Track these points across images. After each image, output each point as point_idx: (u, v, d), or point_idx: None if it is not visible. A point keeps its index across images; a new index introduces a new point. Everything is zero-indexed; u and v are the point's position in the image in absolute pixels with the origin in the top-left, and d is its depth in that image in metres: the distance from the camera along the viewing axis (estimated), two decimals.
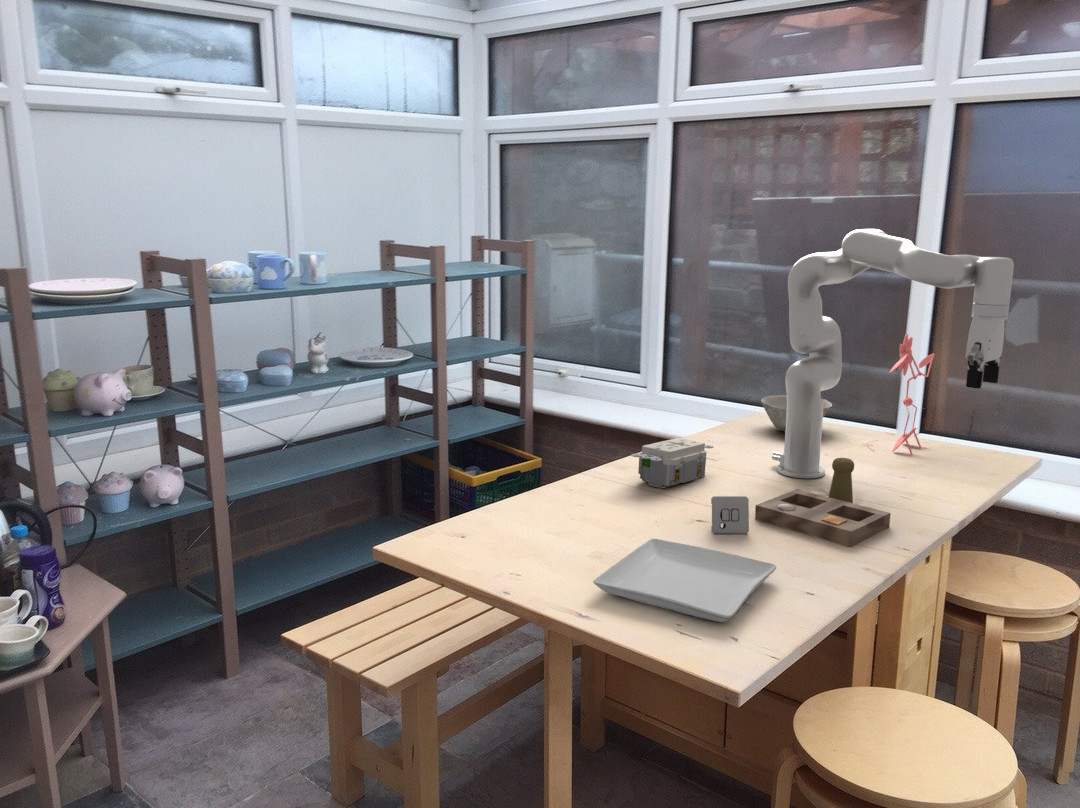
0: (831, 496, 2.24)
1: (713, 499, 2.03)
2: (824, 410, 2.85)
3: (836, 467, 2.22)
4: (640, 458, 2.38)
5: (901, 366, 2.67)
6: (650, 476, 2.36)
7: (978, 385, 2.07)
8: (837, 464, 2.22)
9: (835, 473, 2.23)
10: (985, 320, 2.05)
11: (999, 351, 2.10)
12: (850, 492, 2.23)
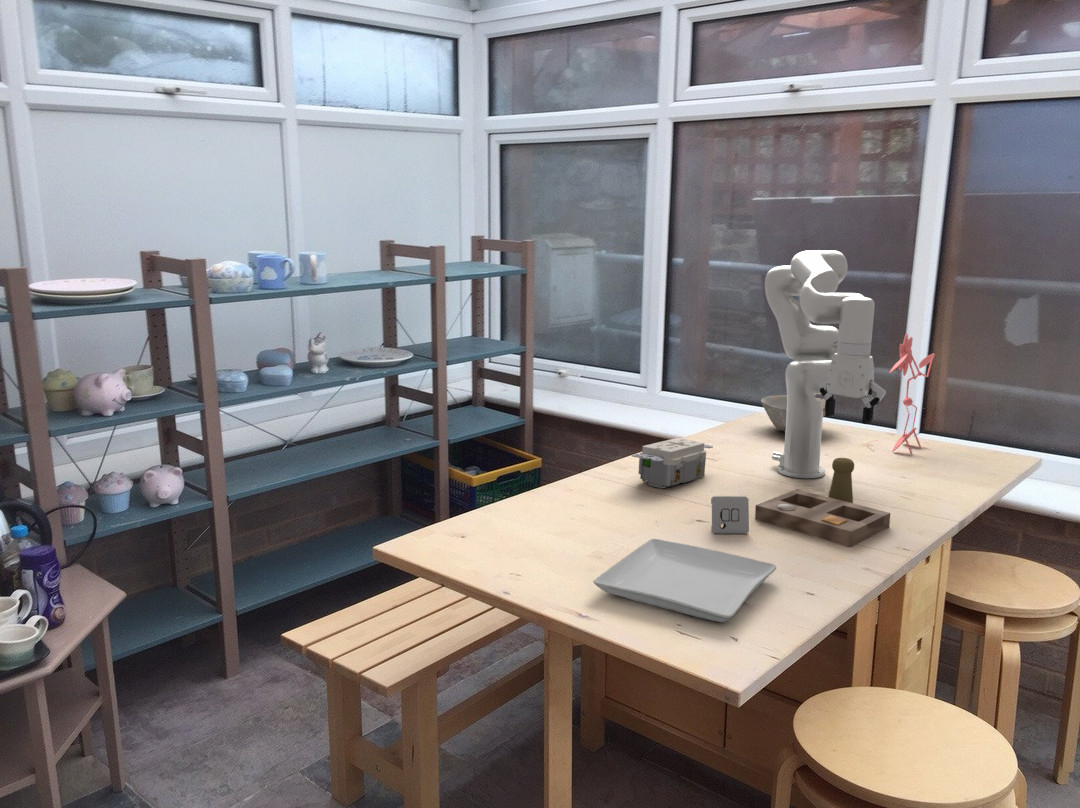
0: (831, 496, 2.24)
1: (713, 499, 2.03)
2: (824, 410, 2.85)
3: (836, 467, 2.22)
4: (640, 458, 2.38)
5: (901, 366, 2.67)
6: (650, 476, 2.36)
7: None
8: (837, 464, 2.22)
9: (835, 473, 2.23)
10: (871, 358, 2.13)
11: None
12: (850, 492, 2.23)
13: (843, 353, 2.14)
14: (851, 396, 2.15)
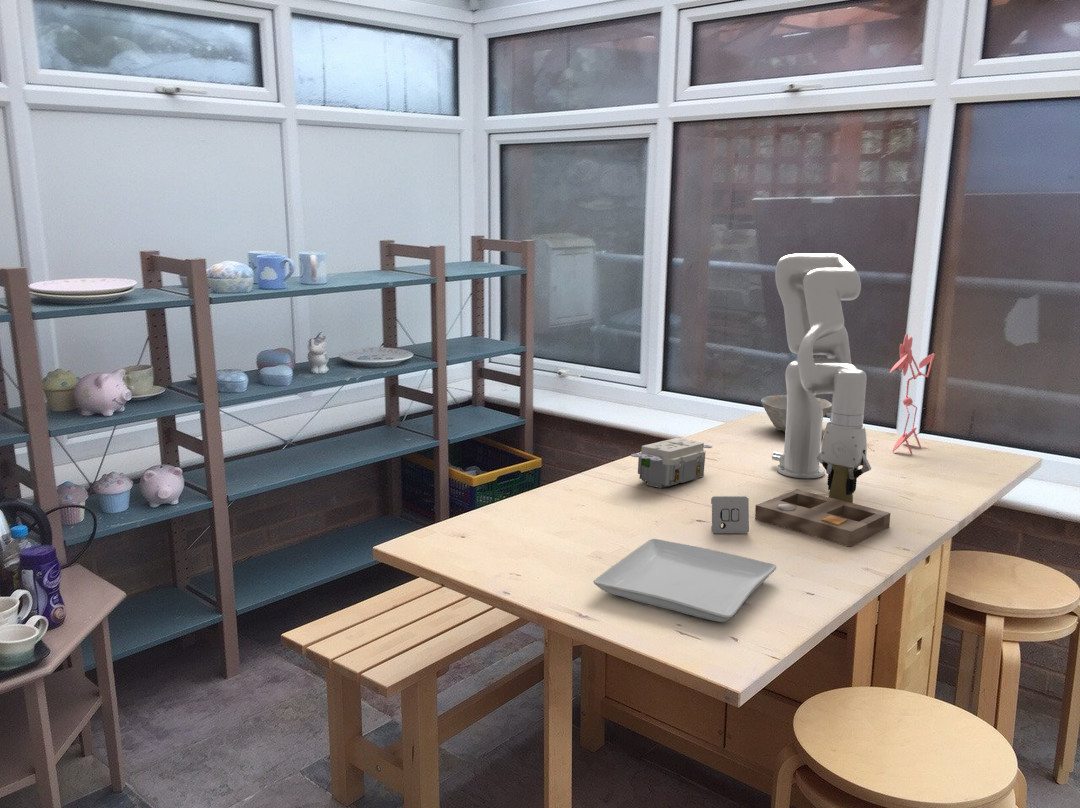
0: (831, 496, 2.24)
1: (713, 499, 2.03)
2: (824, 410, 2.85)
3: (836, 467, 2.22)
4: (639, 458, 2.38)
5: (901, 366, 2.67)
6: (650, 476, 2.36)
7: None
8: None
9: (835, 473, 2.23)
10: (864, 428, 2.19)
11: None
12: None
13: (836, 424, 2.19)
14: (844, 465, 2.20)
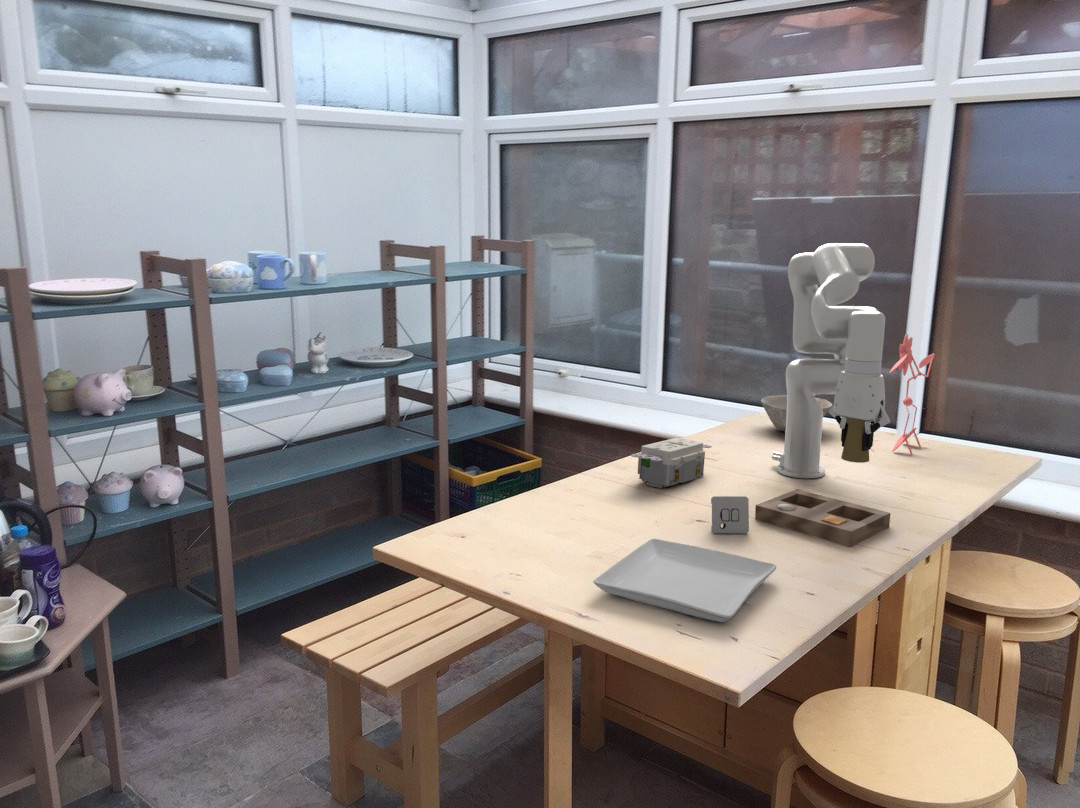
0: (845, 453, 2.02)
1: (713, 499, 2.03)
2: (824, 410, 2.85)
3: (851, 420, 2.00)
4: (639, 458, 2.38)
5: (901, 366, 2.67)
6: (650, 476, 2.36)
7: None
8: None
9: (850, 427, 2.01)
10: (882, 376, 1.97)
11: None
12: None
13: (851, 371, 1.97)
14: (860, 418, 1.98)
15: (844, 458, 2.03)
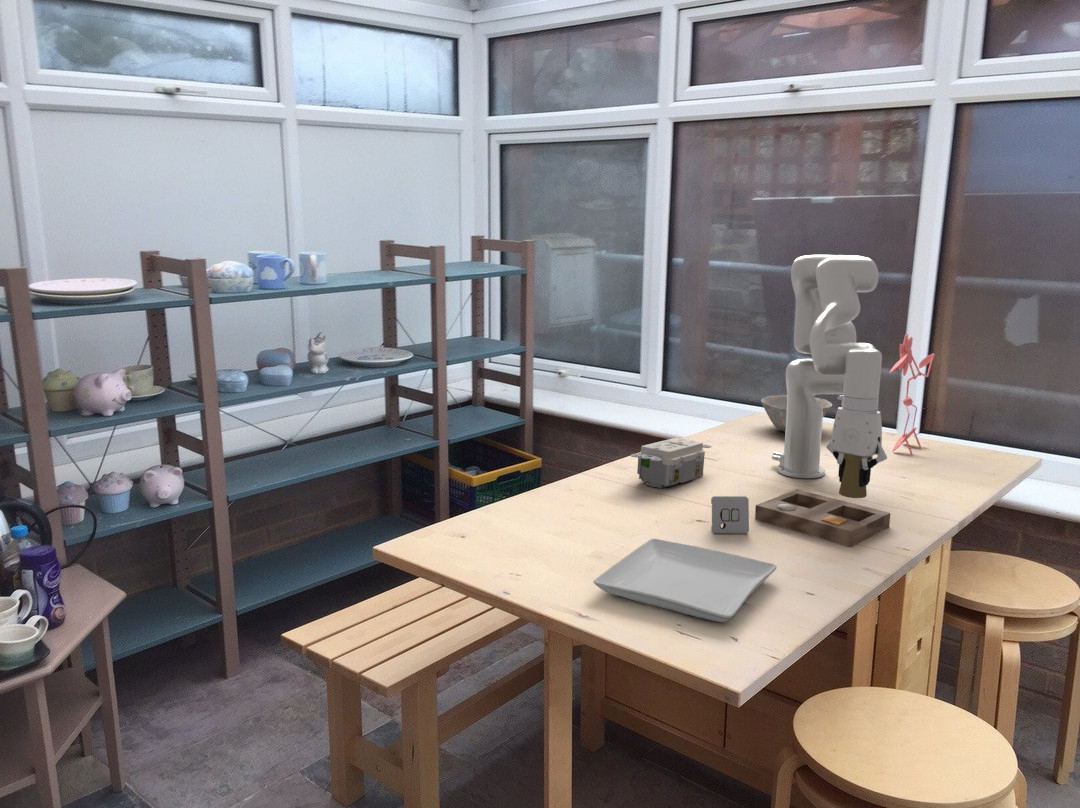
0: (842, 488, 2.04)
1: (713, 499, 2.03)
2: (824, 410, 2.85)
3: (849, 456, 2.02)
4: (639, 458, 2.38)
5: (901, 366, 2.67)
6: (649, 476, 2.36)
7: None
8: None
9: (847, 463, 2.03)
10: (879, 413, 1.99)
11: None
12: None
13: (849, 408, 1.99)
14: (857, 454, 2.00)
15: (841, 493, 2.04)
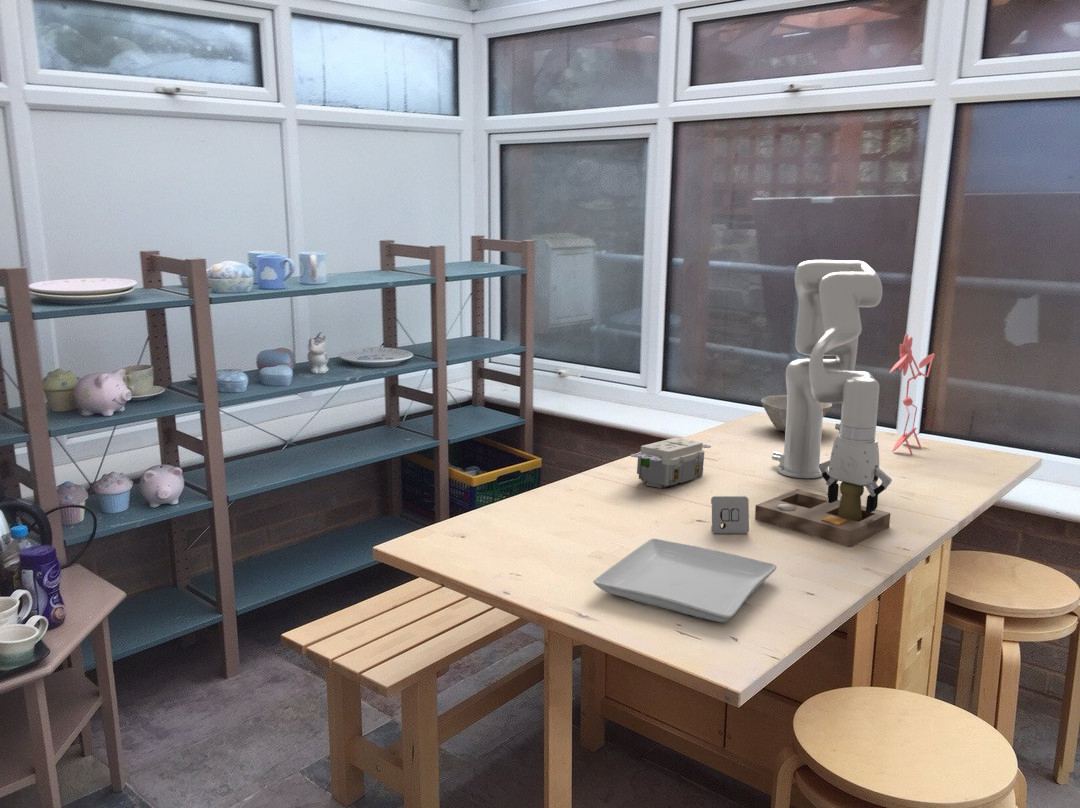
0: None
1: (713, 499, 2.03)
2: (824, 410, 2.85)
3: (845, 490, 2.04)
4: (639, 458, 2.38)
5: (901, 366, 2.67)
6: (649, 476, 2.36)
7: None
8: (845, 487, 2.04)
9: (843, 497, 2.05)
10: (876, 442, 2.00)
11: None
12: (859, 517, 2.05)
13: (846, 437, 2.00)
14: (855, 483, 2.01)
15: None
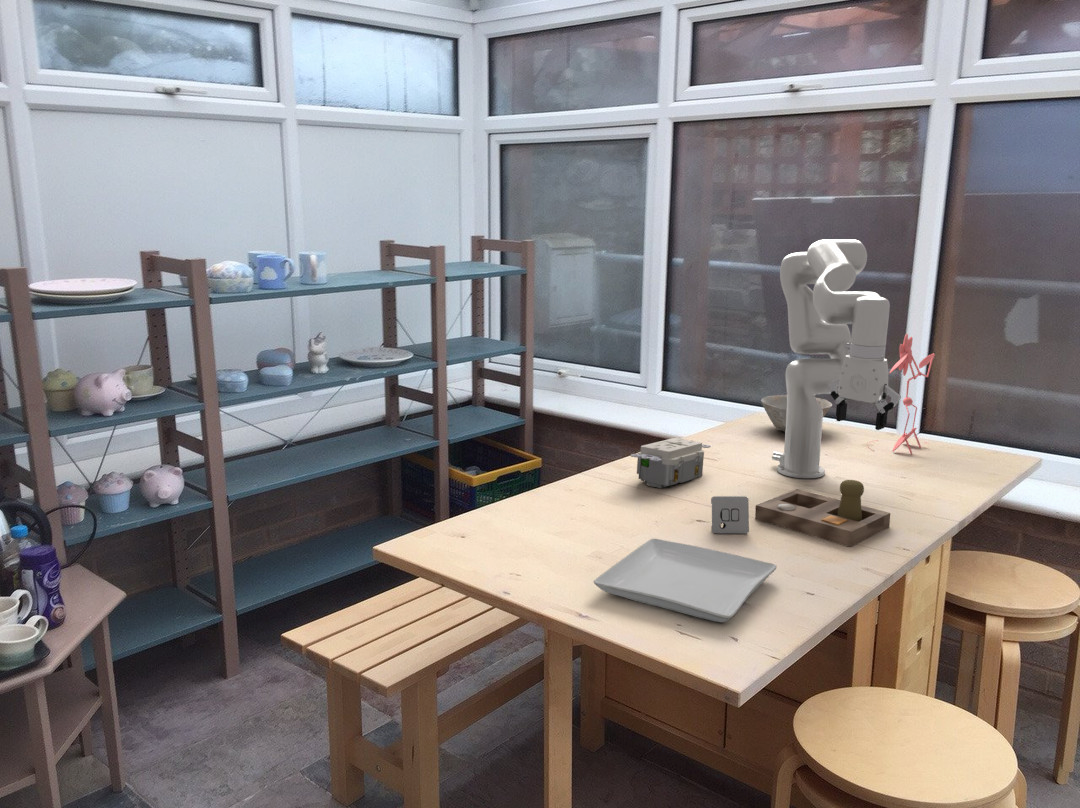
0: None
1: (713, 499, 2.03)
2: (824, 410, 2.85)
3: (845, 490, 2.04)
4: (639, 458, 2.38)
5: (901, 366, 2.67)
6: (649, 476, 2.36)
7: None
8: (845, 487, 2.04)
9: (843, 497, 2.05)
10: (886, 361, 2.03)
11: None
12: (859, 517, 2.05)
13: (856, 356, 2.03)
14: (864, 401, 2.05)
15: None
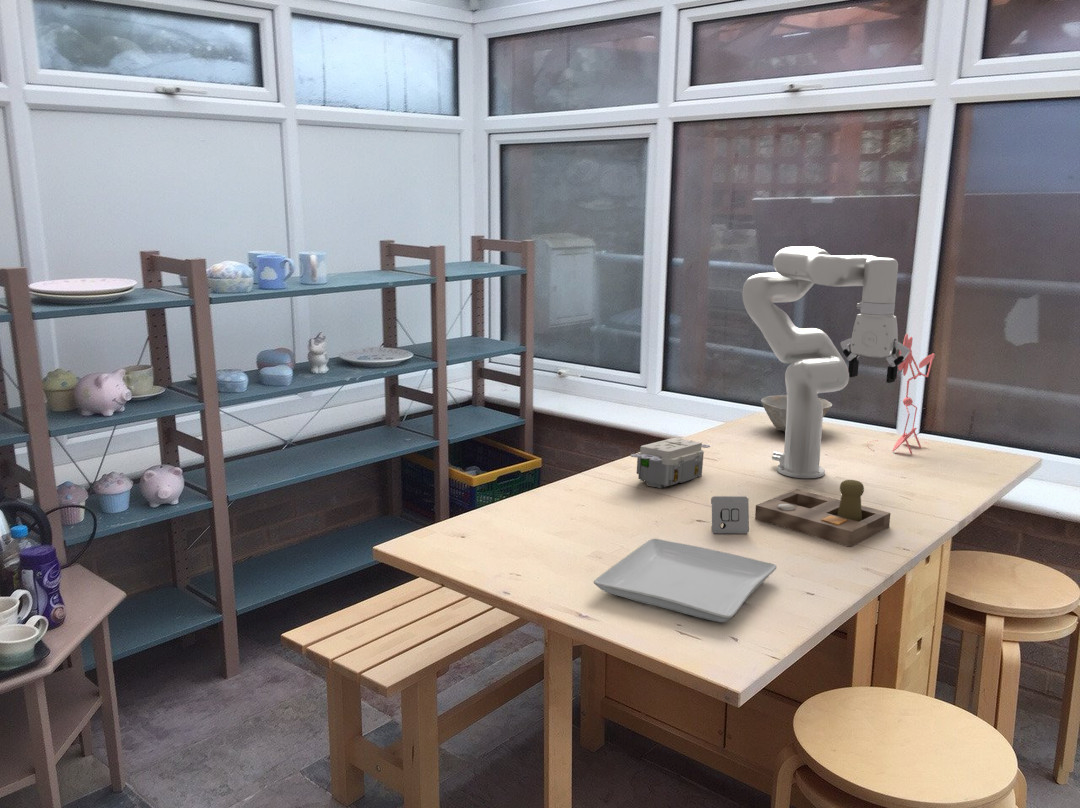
0: None
1: (713, 499, 2.03)
2: (824, 410, 2.85)
3: (845, 490, 2.04)
4: (638, 458, 2.38)
5: (901, 366, 2.67)
6: (649, 476, 2.36)
7: (894, 378, 2.19)
8: (845, 487, 2.04)
9: (843, 497, 2.05)
10: (895, 317, 2.17)
11: None
12: (859, 517, 2.05)
13: (867, 313, 2.17)
14: (875, 355, 2.18)
15: None
